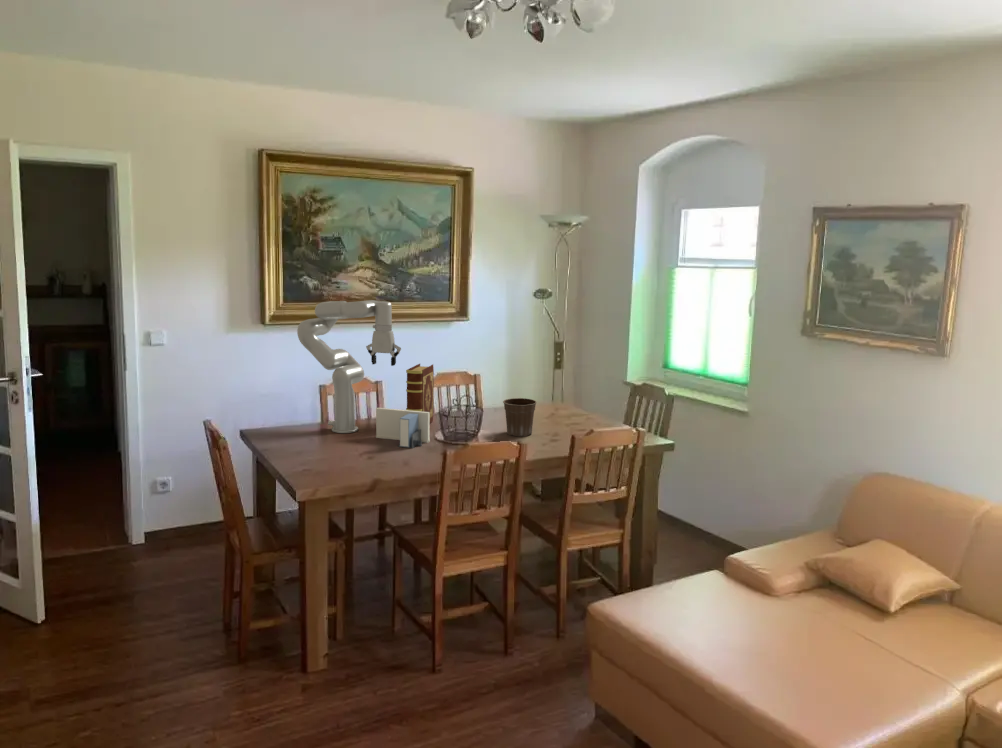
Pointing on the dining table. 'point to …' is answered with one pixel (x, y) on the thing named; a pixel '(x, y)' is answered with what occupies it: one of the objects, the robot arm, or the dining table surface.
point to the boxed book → (408, 429)
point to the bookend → (415, 439)
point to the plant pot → (519, 416)
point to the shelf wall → (391, 423)
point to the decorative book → (420, 389)
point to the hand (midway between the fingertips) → (383, 364)
